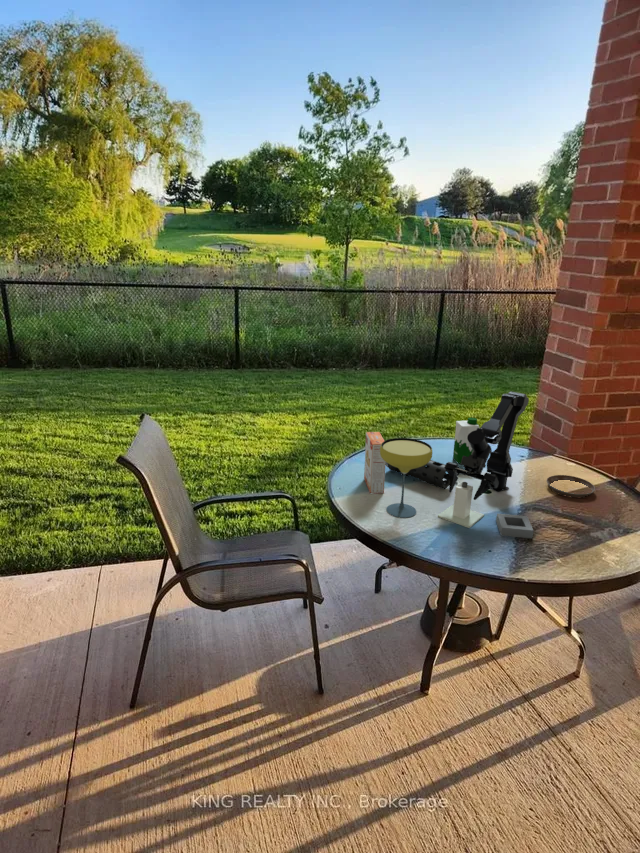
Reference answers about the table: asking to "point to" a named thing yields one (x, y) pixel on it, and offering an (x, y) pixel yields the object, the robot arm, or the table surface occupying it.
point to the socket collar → (520, 528)
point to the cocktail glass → (405, 465)
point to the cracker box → (374, 463)
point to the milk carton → (463, 438)
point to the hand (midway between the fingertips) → (461, 495)
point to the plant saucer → (571, 478)
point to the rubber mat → (465, 522)
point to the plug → (462, 500)
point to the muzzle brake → (428, 473)
